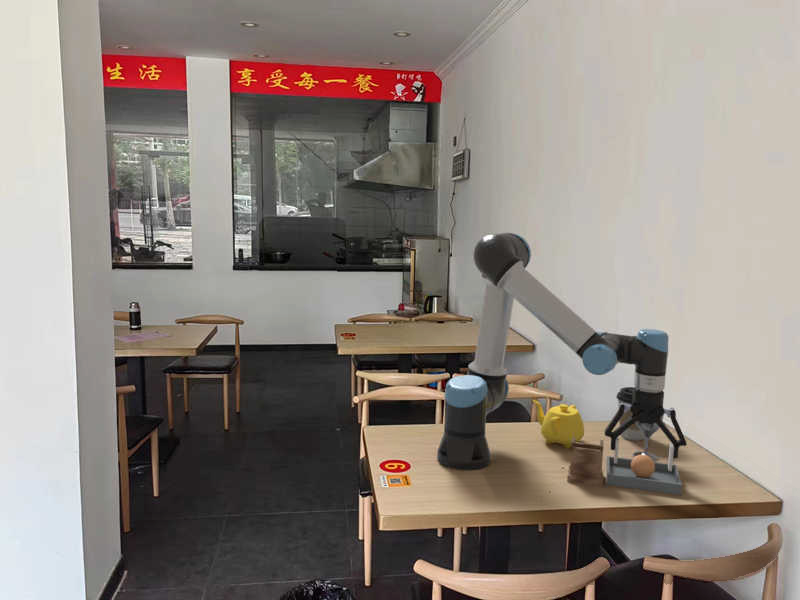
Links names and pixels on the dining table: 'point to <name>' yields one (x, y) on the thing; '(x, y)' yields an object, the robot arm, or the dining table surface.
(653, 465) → the ball
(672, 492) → the tray
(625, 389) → the coffee cup
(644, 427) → the silver goblet
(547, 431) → the teapot
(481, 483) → the dining table surface
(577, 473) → the stand
